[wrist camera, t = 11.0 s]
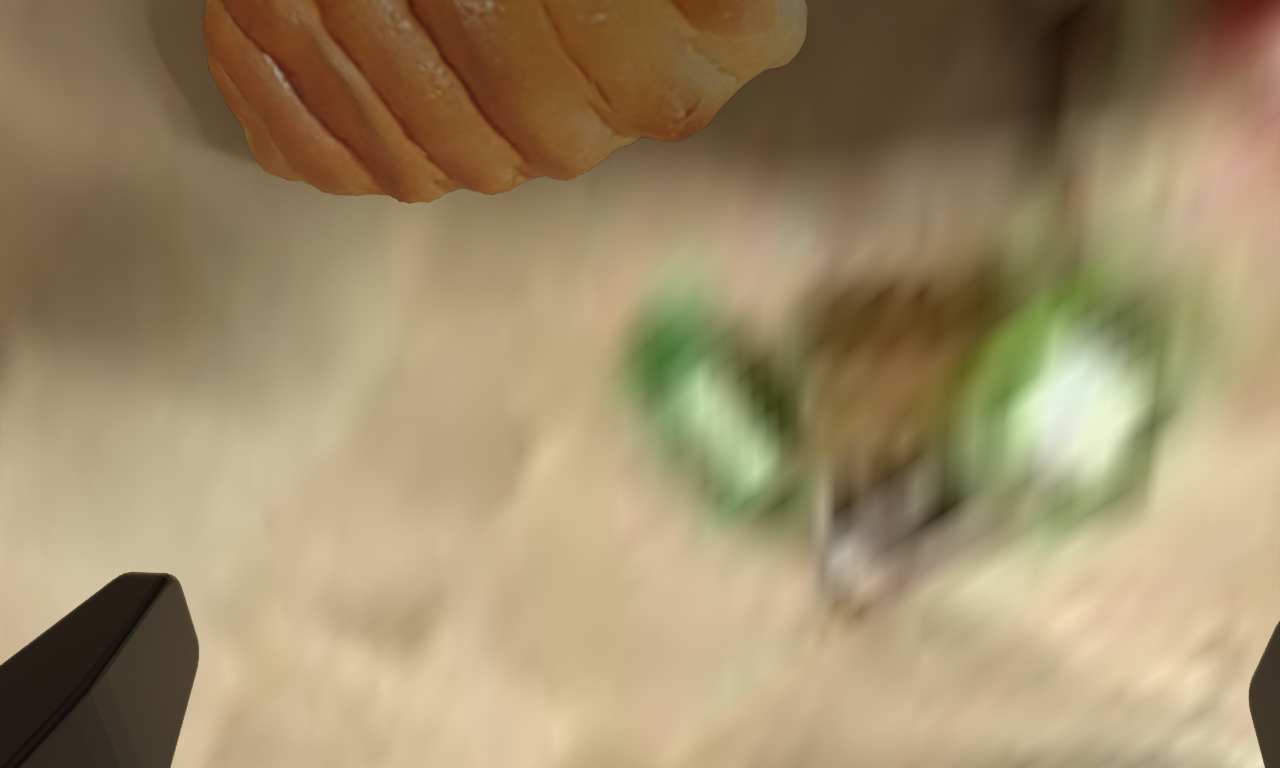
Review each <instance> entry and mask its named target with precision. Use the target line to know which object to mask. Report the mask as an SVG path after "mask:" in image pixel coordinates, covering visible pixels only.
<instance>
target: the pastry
mask: <svg viewBox="0 0 1280 768" xmlns="http://www.w3.org/2000/svg"><path fill="white" fill-rule="evenodd" d="M807 15H808V9H807V5H806V2H805V0H206V10H205V16H204V23H203V30H204V37H205V43H206V50H207V58H208V67H209V70H210V72H211V74H212V76H213V78H214V80H215V82H216V84H217V86H218V88H219V90H220V92H221V94H222V96H223V97H224V99H225V101H226V103H227V105H228V107H229V108H230V110H231V111H232V113H233V114H234V116H235V117H236V119H237V120H238V121H239V123H240V124H241V126H242V127H243V129H244V132H245V136H246V139H247V143H248V146H249V148H250V150H251V152H252V154H253V156H254V158H255V159H256V160H257V162H258V163H259V164H260V166H261V167H262V168H263V169H264V170H265V171H266V172H269V173H271V174H273V175H276V176H279V177H282V178H284V179H287V180H291V181H303V182H305V183H308V184H310V185H312V186H314V187H316V188H317V189H319V190H320V191H322V192H324V193H329V194H334V195H355V196H358V195H366V194H378V195H389V196H391V197H393V198H395V199H397V200H398V201H399V202H407V203H415V202H431V201H433V200H435V199H437V198H440V197H441V196H442V195H444V194H446V193H449V192H452V191H454V190H457V189H463V188H464V189H468V190H472V191H476V192H481V193H484V194H489V195H493V194H497V193H501V192H504V191H508V190H510V189H512V188H514V187H516V186H518V185H520V184H521V183H523V182H525V181H528V180H530V179H533V178H536V177H542V176H547V177H550V178H553V179H558V180H569V179H572V178H574V177H576V176H578V175H580V174H582V173H584V172H587V171H589V170H590V169H591V168H593V167H594V166H595V165H596V164H598V163H599V162H601V161H602V160H603V159H605V158H606V157H607V156H608V155H609V154H610V153H611V152H613V151H614V150H615V149H617V148H621V147H624V146H627V145H630V144H633V143H634V142H635V141H637V140H638V139H639V138H641V137H642V136H644V137H647V138H651V139H654V140H660V141H665V142H672V141H678V140H683V139H685V138H687V137H689V136H691V135H692V134H694V133H696V132H698V131H700V130H702V129H703V128H705V127H706V126H707V125H708V124H709V123H710V122H711V120H712V119H713V117H714V116H715V115H716V113H717V112H718V110H719V109H720V108H721V107H722V106H723V105H724V104H725V103H726V102H727V101H728V100H729V99H730V98H731V97H732V96H733V95H734V94H735V93H736V92H737V91H738V90H739V89H740V88H741V87H742V86H743V85H744V84H746V83H747V82H748V81H750V80H751V79H753V78H754V77H756V76H757V75H758V74H760V73H761V72H763V71H765V70H768V69H772V68H776V67H781V66H784V65H786V64H787V63H789V62H790V61H791V60H792V59H793V58H794V57H795V56H796V55H797V53H798V52H799V51H800V49H801V47H802V45H803V43H804V41H805V39H806V30H807Z"/></svg>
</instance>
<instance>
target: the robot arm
mask: <svg viewBox="0 0 1280 768" xmlns="http://www.w3.org/2000/svg"><path fill="white" fill-rule="evenodd" d="M198 661H199V644H198V639H197V635H196V632H195V629H194V625H193V622H192V619H191V616H190V612H189V609H188V606H187V603H186V599H185V596H184V593H183V590H182V587H181V585H180V582H179V581H178V580H177V578H176V577H175V576H173V575H171V574H168V573H145V572H129V573H124V574H122V575H120V576H118V577H117V578H115V579H114V580H112V581H111V582H110V583H108V584H107V585H106V586H104V587H103V588H102V589H100V590H99V591H98V592H96V593H95V594H94V595H92V596H91V597H90V598H89V599H87V600H86V601H85V602H83V603H82V604H81V605H79V606H78V607H77V608H75V609H74V610H73V611H71V612H70V613H69V614H67V615H66V616H65V617H63V618H62V619H61V620H60V621H58V622H57V623H56V624H54V625H53V626H52V627H50V628H49V629H48V630H46V631H45V632H44V633H42V634H41V635H40V636H38V637H37V638H36V639H35V640H33V641H32V642H31V643H29V644H28V645H27V646H25V647H24V648H23V649H21V650H20V651H19V652H17V653H16V654H15V655H13V656H12V657H11V658H10V659H8V660H7V661H6V662H4V663H3V664H2V665H0V768H171V764H172V760H173V757H174V753H175V749H176V746H177V742H178V738H179V735H180V731H181V727H182V724H183V720H184V716H185V712H186V709H187V705H188V701H189V698H190V694H191V690H192V687H193V683H194V679H195V676H196V672H197V667H198ZM1249 707H1250V712H1251V716H1252V720H1253V724H1254V728H1255V732H1256V735H1257V739H1258V743H1259V747H1260V751H1261V754H1262V758H1263V762H1264V766H1265V768H1280V621H1279V623H1278V624H1277V626H1276V628H1275V630H1274V632H1273V634H1272V636H1271V638H1270V641H1269V643H1268V645H1267V647H1266V649H1265V651H1264V653H1263V655H1262V658H1261V660H1260V662H1259V664H1258V666H1257V668H1256V670H1255V673H1254V675H1253V677H1252V680H1251V683H1250V688H1249Z"/></svg>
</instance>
